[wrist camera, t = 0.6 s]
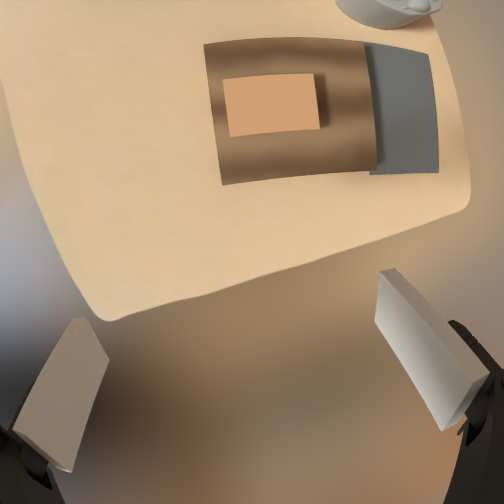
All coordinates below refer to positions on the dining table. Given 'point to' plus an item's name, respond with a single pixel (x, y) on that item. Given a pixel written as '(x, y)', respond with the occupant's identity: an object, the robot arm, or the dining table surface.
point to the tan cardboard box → (271, 104)
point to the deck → (328, 101)
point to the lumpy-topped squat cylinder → (388, 11)
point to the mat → (402, 110)
